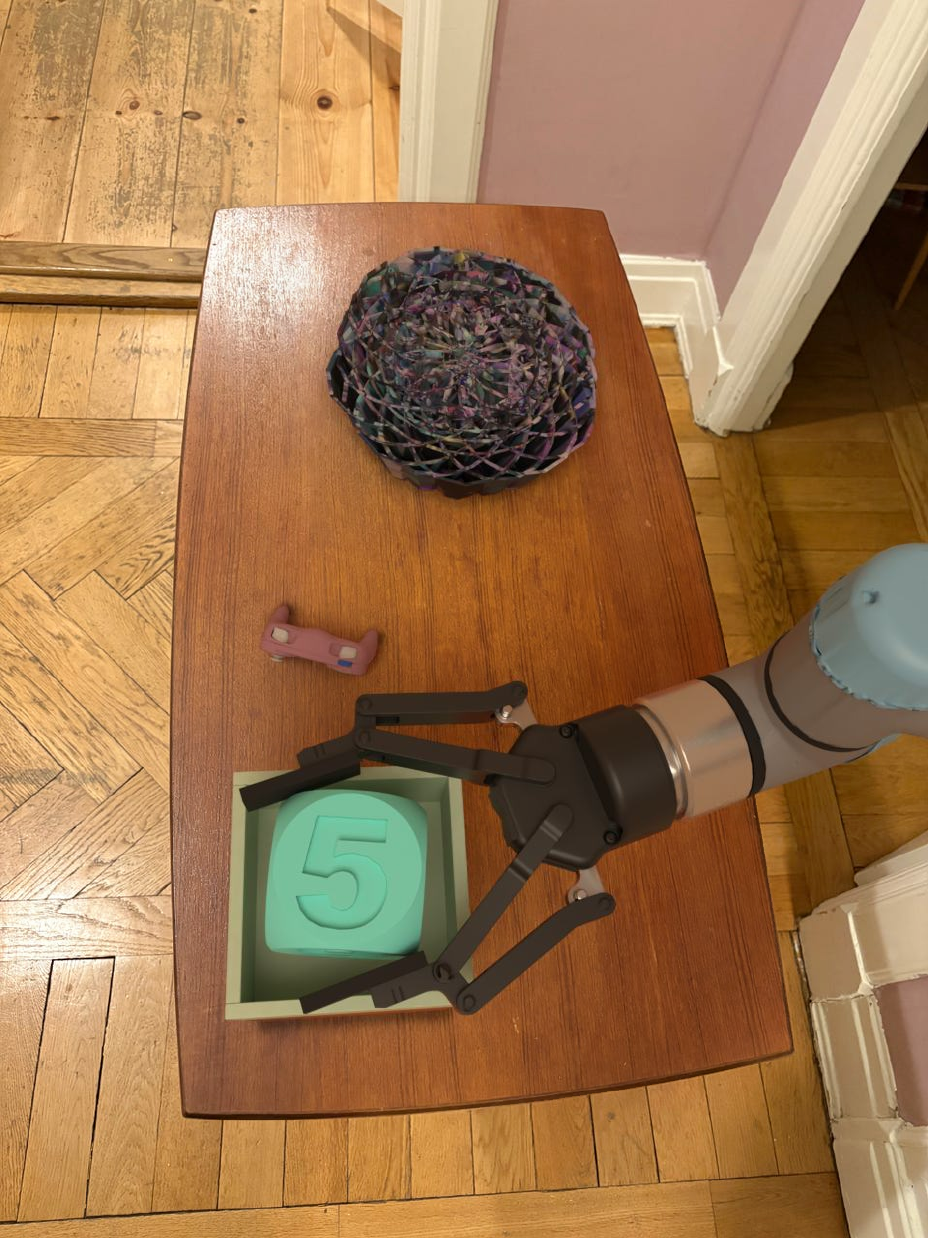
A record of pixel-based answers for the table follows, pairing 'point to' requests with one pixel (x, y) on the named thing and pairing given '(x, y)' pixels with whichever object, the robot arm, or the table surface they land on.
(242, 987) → the bin
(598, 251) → the table surface
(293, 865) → the decorative dice
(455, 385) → the decorative bowl
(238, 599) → the table surface
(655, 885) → the table surface
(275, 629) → the video game controller
